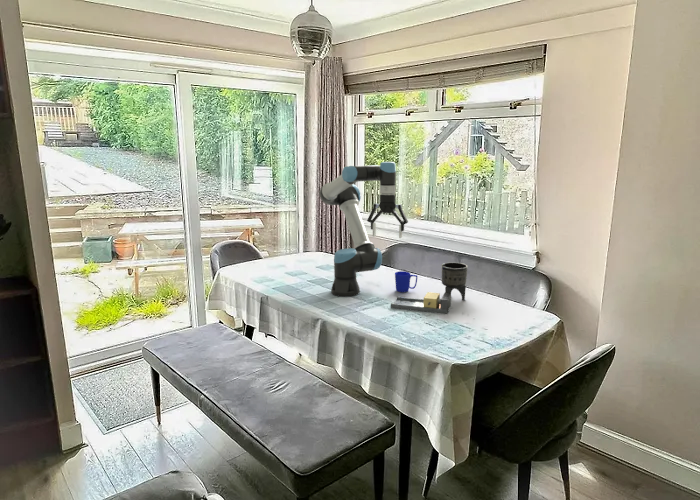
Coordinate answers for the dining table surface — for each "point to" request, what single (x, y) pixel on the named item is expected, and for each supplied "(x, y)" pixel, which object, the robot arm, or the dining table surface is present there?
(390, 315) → the dining table surface
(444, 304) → the dark grey block
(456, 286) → the planter
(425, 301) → the block
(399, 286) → the mug
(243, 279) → the dining table surface
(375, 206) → the robot arm
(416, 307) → the tray
